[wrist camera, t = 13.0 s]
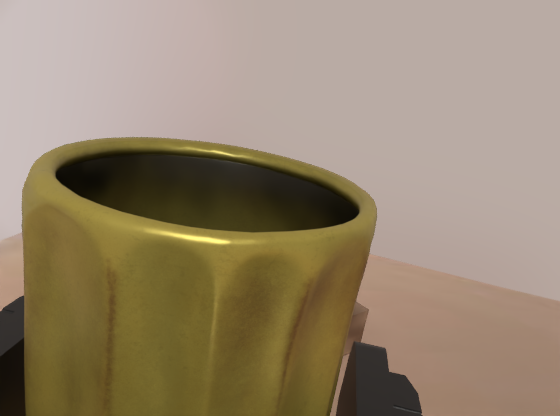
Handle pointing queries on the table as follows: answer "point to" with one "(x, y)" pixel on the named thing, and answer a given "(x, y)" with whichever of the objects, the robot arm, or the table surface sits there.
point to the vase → (187, 280)
